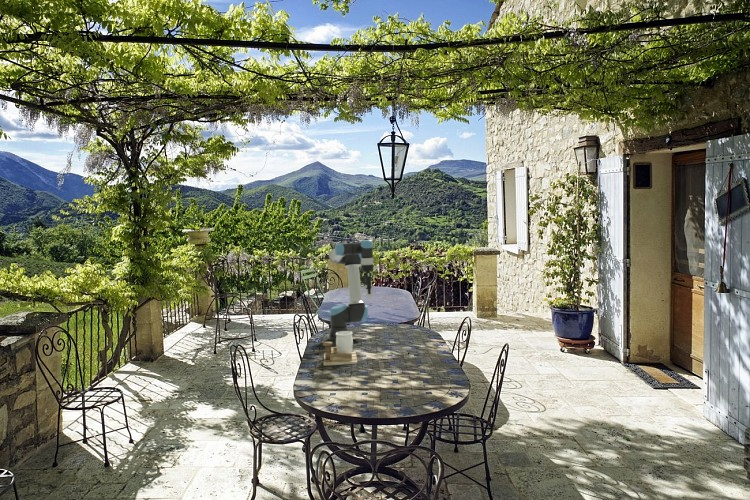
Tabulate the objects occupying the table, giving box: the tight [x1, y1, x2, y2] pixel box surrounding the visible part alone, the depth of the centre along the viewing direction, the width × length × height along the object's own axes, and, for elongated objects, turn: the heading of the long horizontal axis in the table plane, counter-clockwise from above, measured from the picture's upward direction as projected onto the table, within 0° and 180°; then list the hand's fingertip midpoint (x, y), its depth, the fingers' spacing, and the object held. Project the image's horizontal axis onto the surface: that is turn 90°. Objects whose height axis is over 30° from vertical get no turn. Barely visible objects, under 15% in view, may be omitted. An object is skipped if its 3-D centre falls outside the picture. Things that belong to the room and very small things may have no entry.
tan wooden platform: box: [322, 341, 358, 367], centre depth 324 cm, size 22×20×12 cm
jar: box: [335, 330, 354, 354], centre depth 325 cm, size 11×10×15 cm
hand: (368, 297), depth 339 cm, fingers open, 13 cm apart
